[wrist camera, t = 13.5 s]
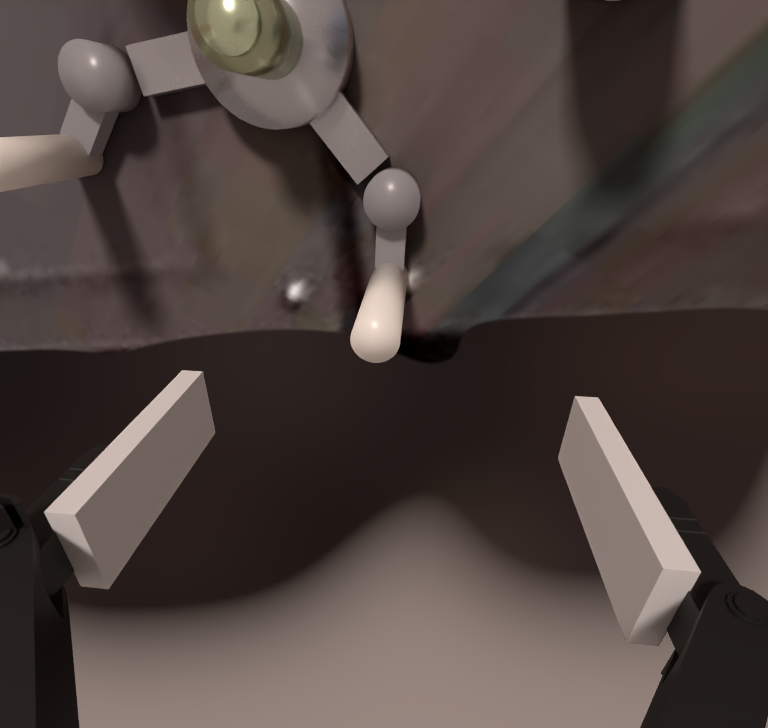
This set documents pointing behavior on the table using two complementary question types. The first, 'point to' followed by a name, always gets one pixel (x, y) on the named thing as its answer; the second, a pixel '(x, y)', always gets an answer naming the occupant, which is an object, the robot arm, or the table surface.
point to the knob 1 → (75, 118)
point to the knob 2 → (386, 264)
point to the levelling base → (279, 97)
